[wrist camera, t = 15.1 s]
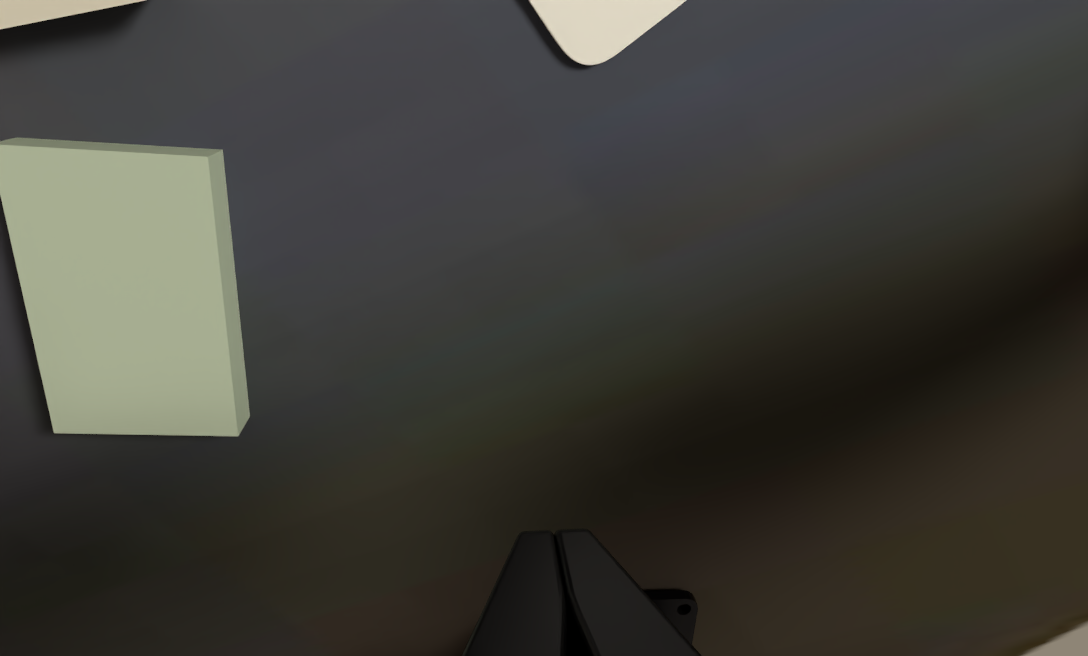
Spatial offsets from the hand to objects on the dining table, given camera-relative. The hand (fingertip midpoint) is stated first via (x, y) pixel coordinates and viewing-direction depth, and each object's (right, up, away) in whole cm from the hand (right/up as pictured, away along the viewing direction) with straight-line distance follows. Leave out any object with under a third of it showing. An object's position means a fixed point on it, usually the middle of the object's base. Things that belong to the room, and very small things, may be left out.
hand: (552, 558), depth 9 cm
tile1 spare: (-12, 0, +12) cm, 17 cm away
